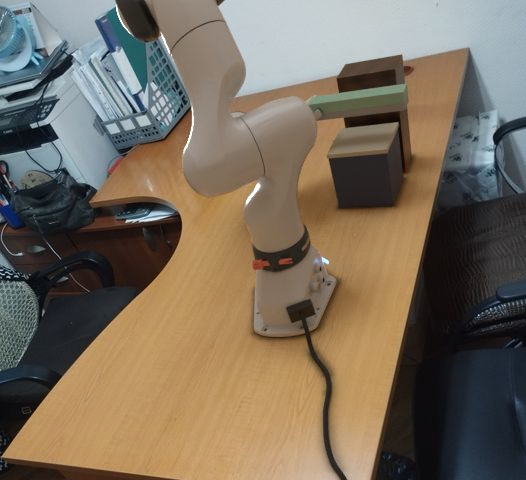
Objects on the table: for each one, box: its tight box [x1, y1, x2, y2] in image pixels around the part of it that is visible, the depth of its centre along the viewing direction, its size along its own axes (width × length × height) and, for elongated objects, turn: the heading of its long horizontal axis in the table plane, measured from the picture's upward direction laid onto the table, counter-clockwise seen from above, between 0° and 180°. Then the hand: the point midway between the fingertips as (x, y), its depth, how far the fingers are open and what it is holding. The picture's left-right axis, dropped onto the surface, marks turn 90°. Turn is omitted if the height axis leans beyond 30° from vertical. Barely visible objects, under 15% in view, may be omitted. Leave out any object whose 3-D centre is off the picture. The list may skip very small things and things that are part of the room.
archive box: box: [326, 122, 404, 209], centre depth 126 cm, size 14×12×15 cm
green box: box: [308, 82, 410, 122], centre depth 115 cm, size 22×4×4 cm, turn 66°
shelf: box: [336, 53, 413, 174], centre depth 130 cm, size 14×8×26 cm, turn 66°
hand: (324, 105), depth 118 cm, fingers closed on green box, 4 cm apart
